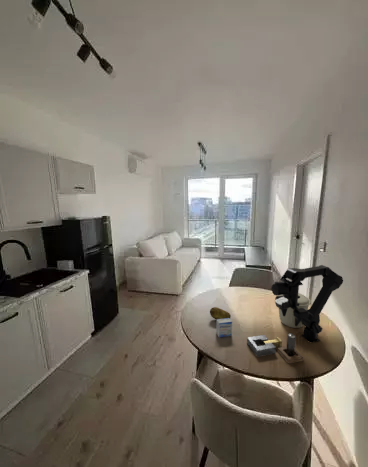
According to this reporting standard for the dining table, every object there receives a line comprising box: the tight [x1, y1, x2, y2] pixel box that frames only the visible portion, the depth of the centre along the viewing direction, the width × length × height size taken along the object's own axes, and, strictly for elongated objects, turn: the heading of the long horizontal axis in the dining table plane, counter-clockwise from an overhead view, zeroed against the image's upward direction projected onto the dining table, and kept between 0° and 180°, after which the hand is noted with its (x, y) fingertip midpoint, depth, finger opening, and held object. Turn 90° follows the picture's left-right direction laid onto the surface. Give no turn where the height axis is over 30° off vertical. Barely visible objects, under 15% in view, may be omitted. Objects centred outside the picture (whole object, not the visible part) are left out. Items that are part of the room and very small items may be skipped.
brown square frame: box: [277, 346, 304, 364], centre depth 104 cm, size 8×8×2 cm
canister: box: [277, 292, 312, 329], centre depth 129 cm, size 18×18×21 cm
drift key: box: [263, 336, 283, 348], centre depth 110 cm, size 9×3×4 cm, turn 102°
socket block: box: [246, 334, 277, 358], centre depth 109 cm, size 10×10×4 cm
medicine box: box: [215, 317, 233, 338], centre depth 120 cm, size 8×4×9 cm, turn 101°
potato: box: [209, 306, 232, 320], centre depth 135 cm, size 8×13×8 cm, turn 71°
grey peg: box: [285, 332, 297, 357], centre depth 103 cm, size 4×4×11 cm
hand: (289, 320), depth 112 cm, fingers open, 9 cm apart
